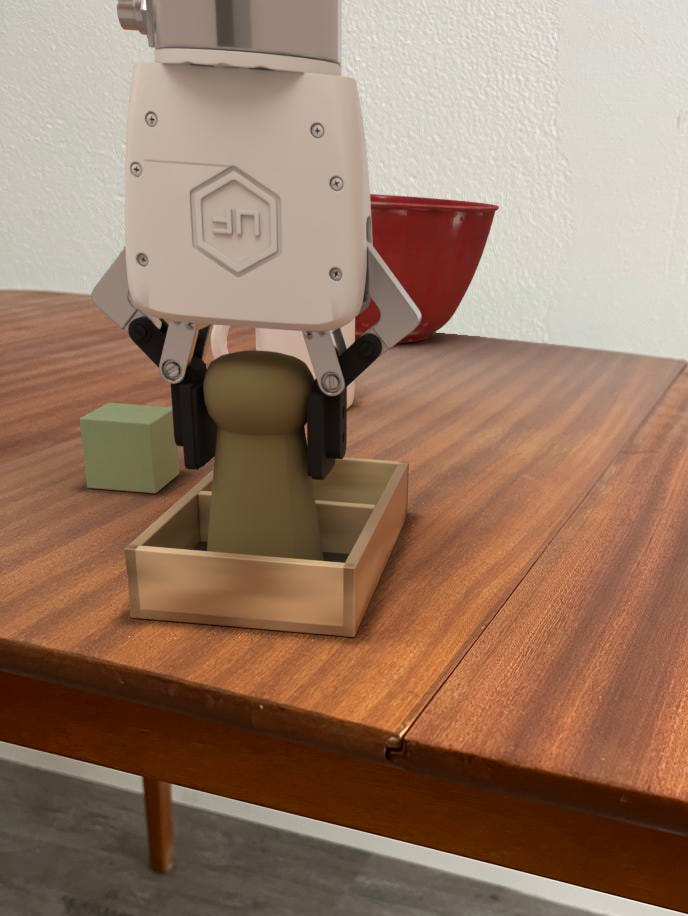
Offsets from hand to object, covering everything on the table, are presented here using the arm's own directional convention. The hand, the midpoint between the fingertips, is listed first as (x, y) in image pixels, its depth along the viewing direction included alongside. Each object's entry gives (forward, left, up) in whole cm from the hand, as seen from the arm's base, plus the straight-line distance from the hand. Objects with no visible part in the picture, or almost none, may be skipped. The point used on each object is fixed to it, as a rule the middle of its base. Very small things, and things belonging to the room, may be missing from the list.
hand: (262, 463), depth 49 cm
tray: (0, +4, -7) cm, 8 cm away
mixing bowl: (-8, +79, -7) cm, 79 cm away
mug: (-9, +40, -7) cm, 41 cm away
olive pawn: (0, 0, -6) cm, 6 cm away
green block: (-13, +16, -7) cm, 21 cm away
